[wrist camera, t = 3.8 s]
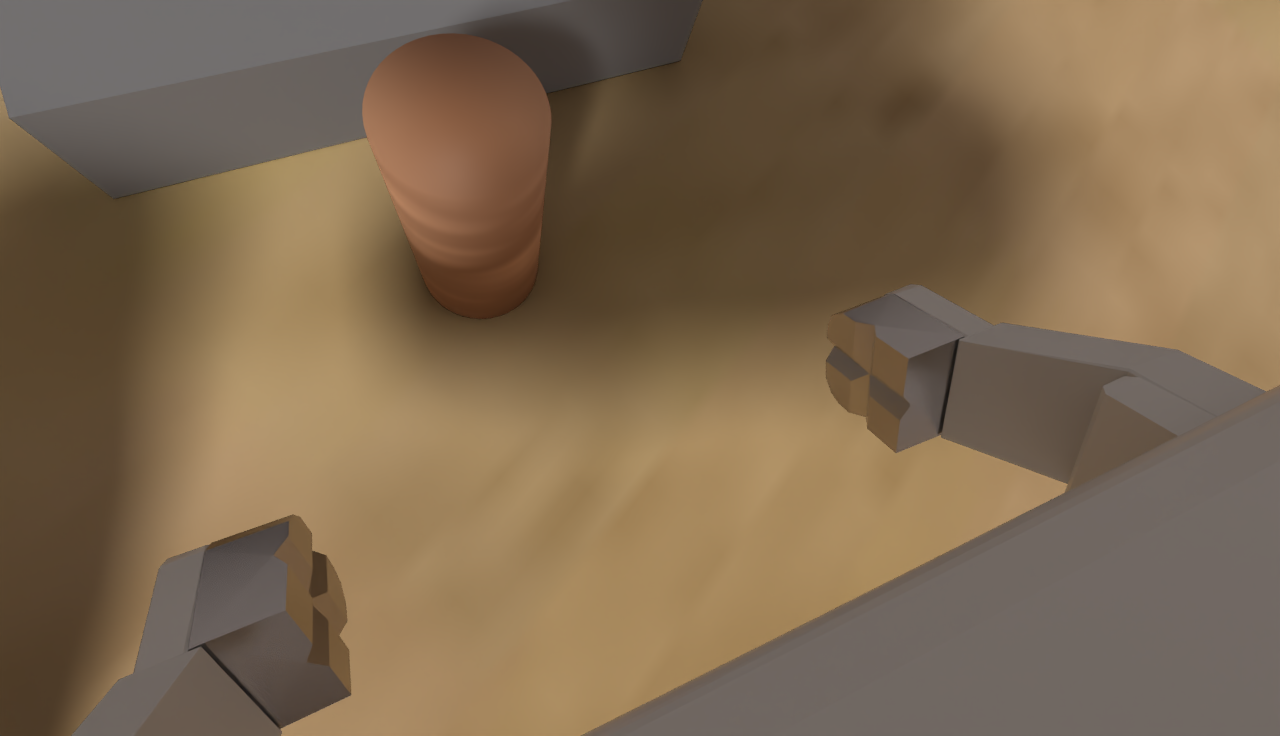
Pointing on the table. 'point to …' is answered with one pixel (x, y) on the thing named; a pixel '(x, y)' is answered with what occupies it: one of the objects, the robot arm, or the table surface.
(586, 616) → the table surface
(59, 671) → the table surface
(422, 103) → the peg
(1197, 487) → the robot arm
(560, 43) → the socket block
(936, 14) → the table surface
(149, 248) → the table surface
